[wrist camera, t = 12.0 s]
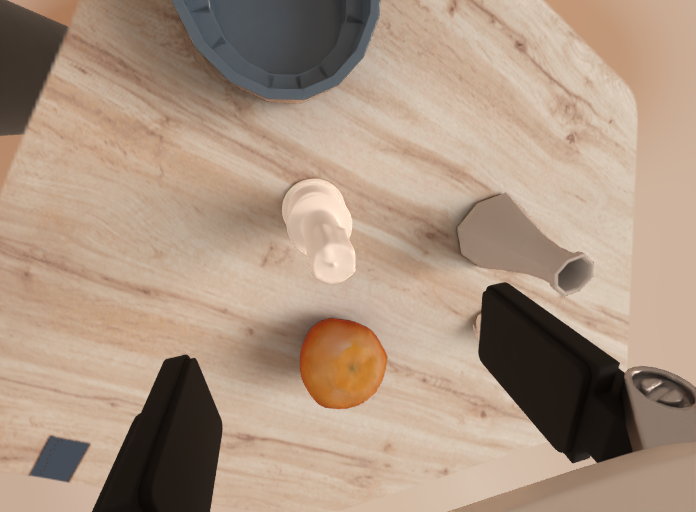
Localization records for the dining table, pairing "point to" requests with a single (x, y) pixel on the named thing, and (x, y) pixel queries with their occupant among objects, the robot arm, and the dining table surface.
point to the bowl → (281, 42)
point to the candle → (320, 229)
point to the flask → (520, 246)
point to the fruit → (341, 363)
